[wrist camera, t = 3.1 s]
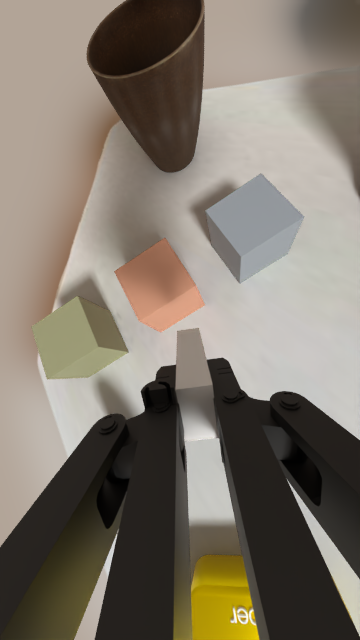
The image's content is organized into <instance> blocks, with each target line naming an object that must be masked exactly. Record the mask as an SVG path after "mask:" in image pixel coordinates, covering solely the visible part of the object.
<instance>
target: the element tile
mask: <svg viewBox="0 0 360 640" xmlns="http://www.w3.org/2000/svg"><path fill="white" fill-rule="evenodd" d="M334 583H335V582H334ZM335 585H336V584H335ZM336 587H337V586H336ZM337 589H338V588H337ZM338 591H339V590H338ZM339 593H340V592H339ZM340 596H341V594H340ZM341 598H342V597H341ZM342 600H343V599H342ZM343 602H344V601H343ZM344 604H345V603H344ZM191 606H192V635H193V640H259V635H258V630H257V625H256V620H255V615H254V610H253V605H252V601H251V596H250V591H249V586H248V581H247V576H246V571H245V566H244V561H243V556H236V555H205V556H203V557H201V558H199V560H198V561H197V563H196V565H195V570H194V575H193V580H192V585H191ZM345 606H346V605H345ZM346 608H347V607H346ZM347 611H348V609H347ZM348 613H349V611H348ZM349 615H350V613H349ZM350 617H351V616H350ZM351 619H352V618H351Z"/></svg>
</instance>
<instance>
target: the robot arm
mask: <svg viewBox="0 0 360 640" xmlns="http://www.w3.org/2000/svg"><path fill="white" fill-rule="evenodd" d="M141 394H142V398H143V402H144V406H145V411H144V412H143V413H142V414H140V415H138V416H136V417H133V418H131V419H128V420H126V419H125V417H124V416H123V415H121V414H110V415H107V416H105V417H103V418H101V419H100V420H98V421H97V422H96V423H95V424H94V425H93V427H92V428H91V429H90V431H89V432H88V433H87V435H86V436H85V437H84V438H83V440H82V441H81V442H80V444H79V445H78V446H77V448H76V449H75V450H74V452H73V453H72V454H71V455H70V457H69V458H68V459H67V461H66V462H65V463H64V465H63V466H62V467H61V468H60V470H59V471H58V472H57V474H56V475H55V476H54V478H53V479H52V480H51V482H50V483H49V484H48V486H47V487H46V488H45V489H44V491H43V492H42V493H41V495H40V496H39V497H38V498H37V500H36V501H35V502H34V504H33V505H32V506H31V508H30V509H29V510H28V512H27V513H26V514H25V515H24V517H23V518H22V520H21V521H20V522H19V523H18V525H17V526H16V527H15V528H14V530H13V531H12V533H11V534H10V535H9V536H8V538H7V539H6V540H5V542H4V543H3V544H2V545H1V547H0V640H74V638H75V636H76V633H77V631H78V628H79V626H80V623H81V621H82V618H83V616H84V613H85V611H86V608H87V606H88V603H89V601H90V598H91V595H92V593H93V591H94V588H95V586H96V583H97V581H98V578H99V576H100V573H101V571H102V568H103V566H104V564H105V561H106V559H107V556H108V554H109V551H110V549H111V546H112V544H113V541H114V539H115V536H116V534H117V531H118V535H117V540H116V544H115V549H114V553H113V558H112V563H111V567H110V572H109V576H108V581H107V586H106V591H105V595H104V600H103V604H102V609H101V613H100V618H99V623H98V627H97V632H96V637H95V640H193V635H192V606H191V577H190V548H189V519H188V490H187V461H186V449H185V444H184V438H185V442H186V441H195V440H203V439H212V438H219V439H220V447H221V455H222V463H224V468H225V472H226V477H227V482H228V487H229V492H230V497H231V502H232V507H233V512H234V517H235V522H236V527H237V532H238V537H239V541H240V546H241V551H242V556H243V561H244V566H245V571H246V576H247V581H248V586H249V591H250V596H251V601H252V605H253V610H254V615H255V620H256V625H257V630H258V635H259V640H360V636H359V634H358V632H357V630H356V628H355V626H354V624H353V621H352V619H351V617H350V615H349V613H348V611H347V608H346V606H345V604H344V602H343V600H342V598H341V596H340V593H339V591H338V589H337V587H336V585H335V583H334V580H333V578H332V576H331V574H330V572H329V570H328V568H327V565H326V563H325V561H324V559H323V557H322V555H321V552H320V550H319V548H318V546H317V544H316V542H315V540H314V537H313V535H312V533H311V531H310V529H309V527H308V524H307V522H306V520H305V518H304V516H303V514H302V512H301V509H300V507H299V505H298V503H297V501H296V499H295V496H294V494H293V492H292V490H291V488H290V486H289V484H288V481H289V483H290V484H291V485H292V487H293V488H294V489H295V491H296V492H297V494H298V495H299V496H300V498H301V499H302V500H303V502H304V503H305V505H306V506H307V507H308V509H309V510H310V511H311V513H312V514H313V516H314V517H315V518H316V520H317V521H318V522H319V524H320V525H321V527H322V528H323V529H324V531H325V532H326V533H327V535H328V536H329V538H330V539H331V540H332V542H333V543H334V544H335V546H336V547H337V549H338V550H339V551H340V553H341V554H342V555H343V557H344V558H345V560H346V561H347V562H348V564H349V565H350V566H351V568H352V569H353V571H354V572H355V573H356V575H357V576H358V577H359V579H360V440H359V439H357V438H356V437H355V436H353V435H352V434H351V433H350V432H348V431H347V430H346V429H344V428H343V427H342V426H341V425H339V424H338V423H337V422H335V421H334V420H333V419H332V418H330V417H329V416H328V415H326V414H325V413H324V412H323V411H321V410H320V409H319V408H317V407H316V406H315V405H314V404H312V403H311V402H310V401H308V400H307V399H306V398H304V397H303V396H301V395H299V394H297V393H293V392H287V391H282V392H277V393H275V394H273V395H272V396H271V398H270V401H264V400H257V399H253V398H250V397H248V395H247V394H246V393H245V391H243V390H241V389H240V386H239V384H238V382H237V380H236V377H235V375H234V373H233V370H232V368H231V366H230V364H229V362H228V361H227V360H226V359H224V358H217V359H210V360H206V356H205V352H204V348H203V343H202V339H201V335H200V331H199V328H195V329H188V330H181V331H177V357H176V365H171V366H163V367H161V368H160V369H159V370H158V371H157V374H156V379H155V381H152V382H150V383H148V384H147V385H145V386H144V387H143V389H142V390H141ZM286 478H287V479H286ZM287 480H288V481H287ZM118 529H119V530H118Z"/></svg>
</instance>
